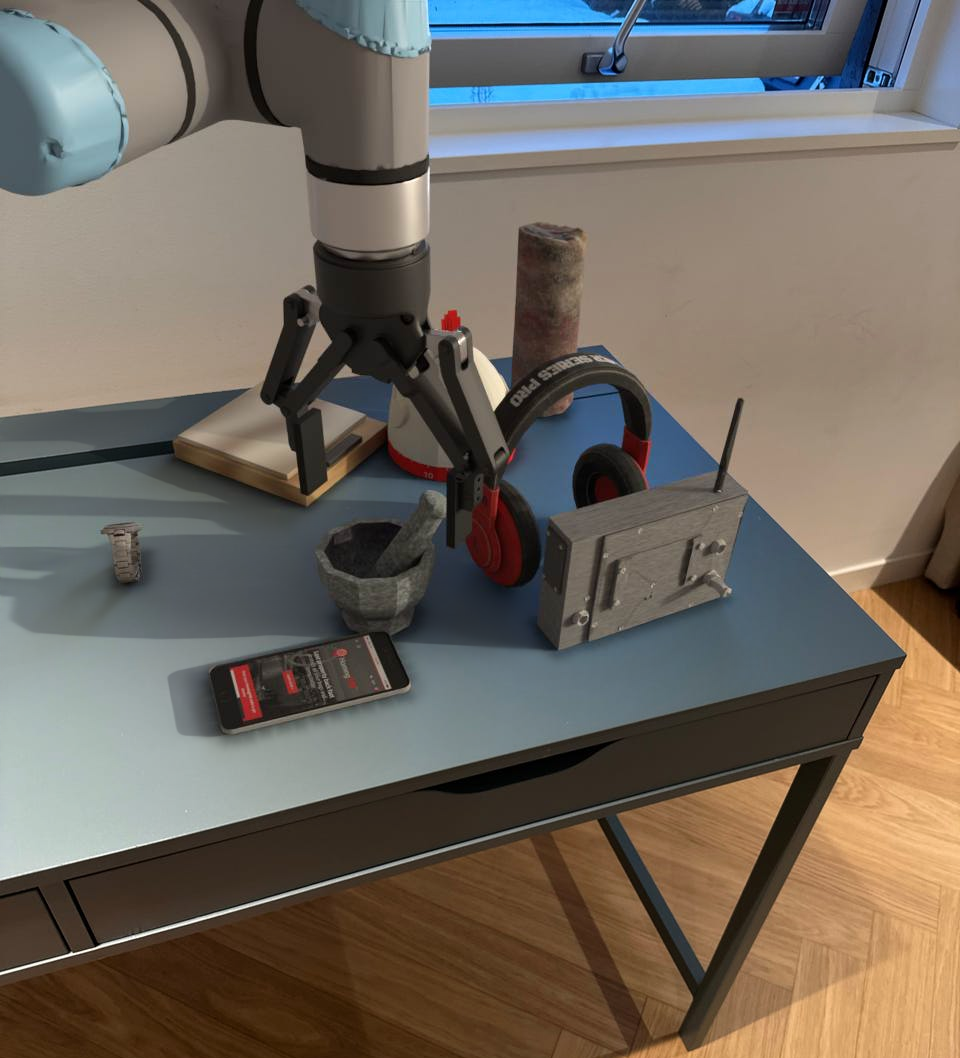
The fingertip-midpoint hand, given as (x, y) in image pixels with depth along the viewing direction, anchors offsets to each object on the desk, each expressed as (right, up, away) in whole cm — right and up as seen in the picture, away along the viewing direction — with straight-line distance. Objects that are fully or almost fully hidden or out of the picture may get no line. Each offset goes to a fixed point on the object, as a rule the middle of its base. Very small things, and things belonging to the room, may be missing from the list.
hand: (384, 512), depth 74 cm
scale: (-14, +11, +26) cm, 32 cm away
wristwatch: (-24, -4, +11) cm, 27 cm away
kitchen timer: (+4, +11, +28) cm, 31 cm away
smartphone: (-6, -14, +1) cm, 15 cm away
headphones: (+14, -2, +15) cm, 21 cm away
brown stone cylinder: (+15, +18, +36) cm, 43 cm away
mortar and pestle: (-1, -8, +8) cm, 11 cm away
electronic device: (+21, -8, +8) cm, 25 cm away
